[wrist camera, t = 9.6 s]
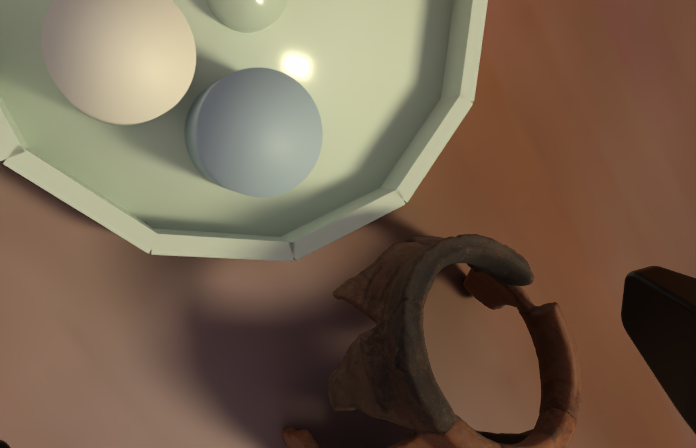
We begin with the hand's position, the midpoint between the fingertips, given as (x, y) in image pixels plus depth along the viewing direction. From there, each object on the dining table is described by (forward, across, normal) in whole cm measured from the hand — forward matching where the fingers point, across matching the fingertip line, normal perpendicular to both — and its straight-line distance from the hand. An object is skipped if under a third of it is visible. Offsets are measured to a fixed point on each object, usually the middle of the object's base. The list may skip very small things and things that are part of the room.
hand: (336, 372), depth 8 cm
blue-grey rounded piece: (+11, +1, 0) cm, 11 cm away
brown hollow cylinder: (+10, -3, +11) cm, 15 cm away
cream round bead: (+11, +4, -3) cm, 12 cm away
